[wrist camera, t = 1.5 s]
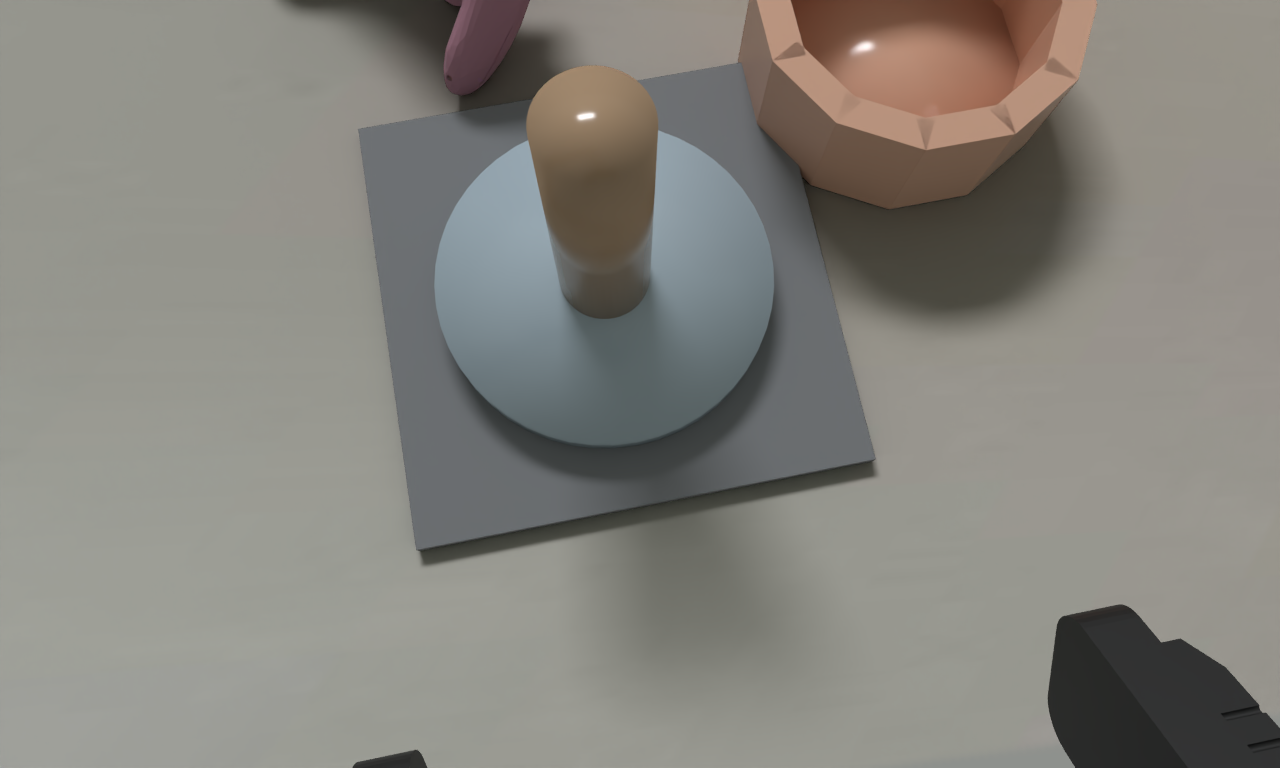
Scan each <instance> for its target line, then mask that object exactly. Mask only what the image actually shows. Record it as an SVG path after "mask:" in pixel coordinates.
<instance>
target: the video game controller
mask: <svg viewBox="0 0 1280 768" xmlns="http://www.w3.org/2000/svg"><path fill="white" fill-rule="evenodd" d="M445 1H447V2H449V3H450V4H452V5H454V6H461V8H460V10H459V13H458V16H457V19H456V22H455V24H454V27H453V30H452V33H451V36H450V38H449V41H448V44H447V47H446V50H445V59H444V67H443V68H444V79H445V83H446V86H447V88H448V89H449V90H450V92H452V93H454V94H457V95H467V94H470V93H472V92H474V91H476V90H477V89H478V88H479V87H481V86H482V85H483V84H484V83H485V82H486V81H487V80H488V79H489V78H490V76H491V75H492V74H493V72H494V71H495V70H496V68H497V67H498V66H499V64H500V63H501V62H502V60H503V58H504V57H505V55H506V53H507V52H508V50H509V48H510V47H511V45H512V43H513V41H514V39H515V37H516V35H517V33H518V30H519V28H520V26H521V24H522V21H523V18H524V15H525V12H526V10H527V7H528V4H529V1H530V0H445Z"/></svg>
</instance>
